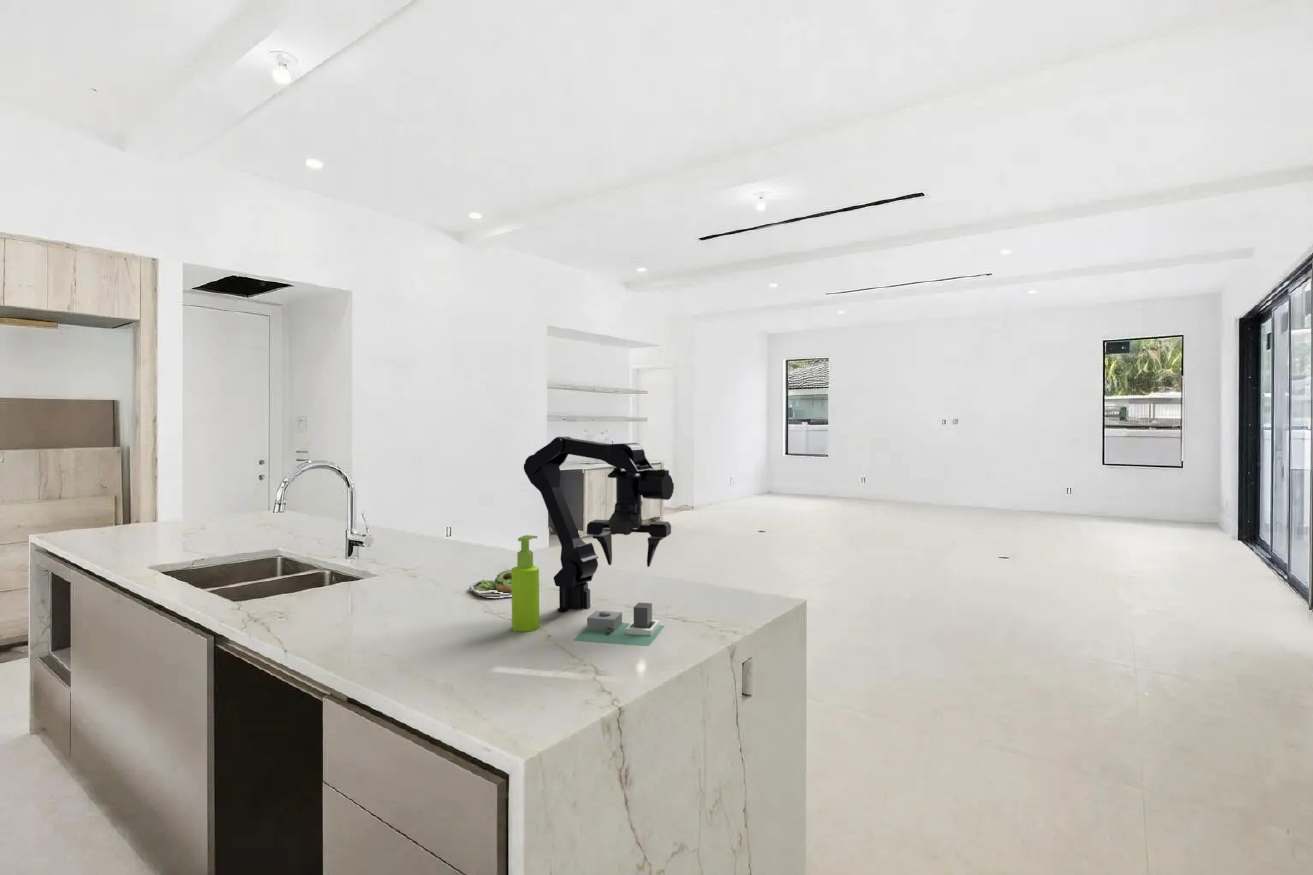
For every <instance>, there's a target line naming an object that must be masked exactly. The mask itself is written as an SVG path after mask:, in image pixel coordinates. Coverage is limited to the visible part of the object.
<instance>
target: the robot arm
mask: <svg viewBox="0 0 1313 875" xmlns="http://www.w3.org/2000/svg"><path fill="white" fill-rule="evenodd" d="M569 455H570V456H571V455H572V456H578V457H584V458H590V459H595V460H600V461H603V462H605V463H606V464H607V465H610V466H612V467H614V468H613V470H612V471H611V472H609V473H608V474H607V478H609V479H615V480H616V481H615V484H616V485H615V486H616V487H615V490H616V491H615V496H616V497H615V498H616V503H615V502H614V510H613V513H612V514H611V516H610V517H609V519H594V520H591V521H589V522H588V523H587V524H586V535H588V536H589V535H590V536H591V537H592V539H595V540H597V541H598V543H599V545H600V547H601V548H602V551H603V553H604V556H605V558H606V562H607V564H608V566H611V565H612V563H613V562H612V561H613V548H612V547H613V546H612V545H613V543H612V541H613V540H612V539H613V537H612V535H614V536H615V535H616V534H617V535H623V536H629V535H631V533H640V534H641V533H643V534H645V533H646V534H647V533H648V534H649V535H650V536H649V537H647V544H648V546H647V557H646V566H647V568H650V566H651V564H652V561H653V559H654V556H655V554H656V553H655V552H656V550H657V547H658V546H659V543H660V541H662V540H664V539H665V538H667V537H669V535H671V534H672V525H671V523H670V522H669V521H663V520H662V521H659V520H658V521H657V520H655V521H652V522H650V523H649V524H643V518H642V506H643V500H642V498H643V499H646V500H663V501H668V500H670V499H671V498H672V496H673V493H674V491H675V490H674V489H675V487H674V485H675V484H674V482H673V478H672V476H671V475H670V470H669V469H668V468H663V469H655V468H654V467H653V465H652V464H651V462H650V461H649V459H648V458H647V456H646V454H645V450H644V448H643V446H642V445H641V444H640V443H638V442H626V443H625V442H624V443H606V442H605V443H603V442H597V441H593V440H587V439H578V438H573V437H570V436H557V437H554V438H553V439H552V440H551V441H550V442H549V443H548V444H546V445H545V446H543V447H542V448H540V449H539V450H537V451H536V452H534V454H531V455H529V456H528V457H527V458H526V459H525V461H524V464H523V470H524V473H525V475H526V476H527V478H528V480H529V483H531V485H532V486H534V487H535V488H536V489H537V490H538V492H540V494H541V496H542V497H541V498H542V499H543V502H544V504H545V507H546V509H547V513H548V514H549V518H550V520H551V522H552V525H553V527H554V531H555V533H556V536H557V538H558V541H559V543H560V546H561V550H560V551H561V552H560V564H561V568H560V570H559V571H558V572H557V573H556V574H555V575H554V576H553V582H554V585H555V587H559V592H558V593H559V596H558V597H559V600H558V601H559V603H558V604H559V605H558V606H559V607H557V608H556V612H560V613H561V612H563V613H567V612H568V611H569V610H588V609H589V608H590V607H591V589H590V588H589V582H592V579H593V577H594V574H596V572H597V571H598V567H599V562H598V559H599V556H598V555H597V553H596V551H595V548H594V544H593V543H592V542H589V543H586V542H585V541H584V540H583V539H582V538H581V536H580V534H579V532H578V529H577V528H578V527H577V526H576V523H575V522H574V518H573V516H572V513H571V511H570V508H569V505H568V503H567V500H566V499H565V495H564V493H563V490H562V488H561V477H562V476H561V474H562V473H561V470H560V469H561V468H560V466H562V465H563V463H565V461H566V460H567V458H568V456H569Z"/></svg>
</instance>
